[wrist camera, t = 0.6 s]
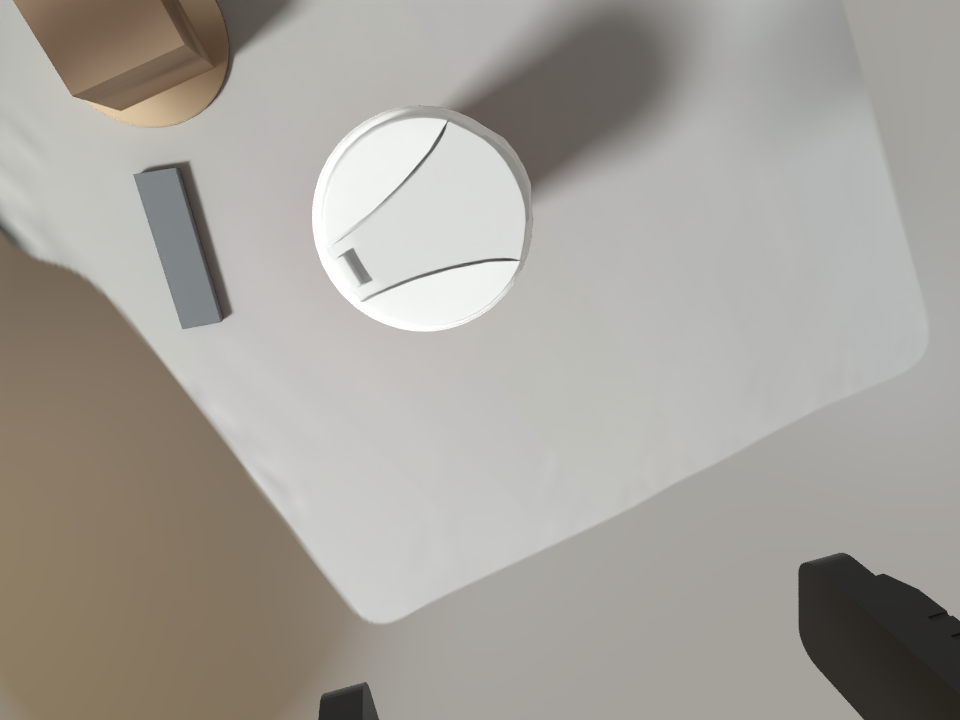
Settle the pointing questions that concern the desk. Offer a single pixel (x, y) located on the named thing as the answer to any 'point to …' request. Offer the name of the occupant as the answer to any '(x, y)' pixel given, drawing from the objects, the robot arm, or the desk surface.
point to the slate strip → (179, 247)
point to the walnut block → (117, 47)
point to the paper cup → (423, 218)
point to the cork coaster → (194, 92)
